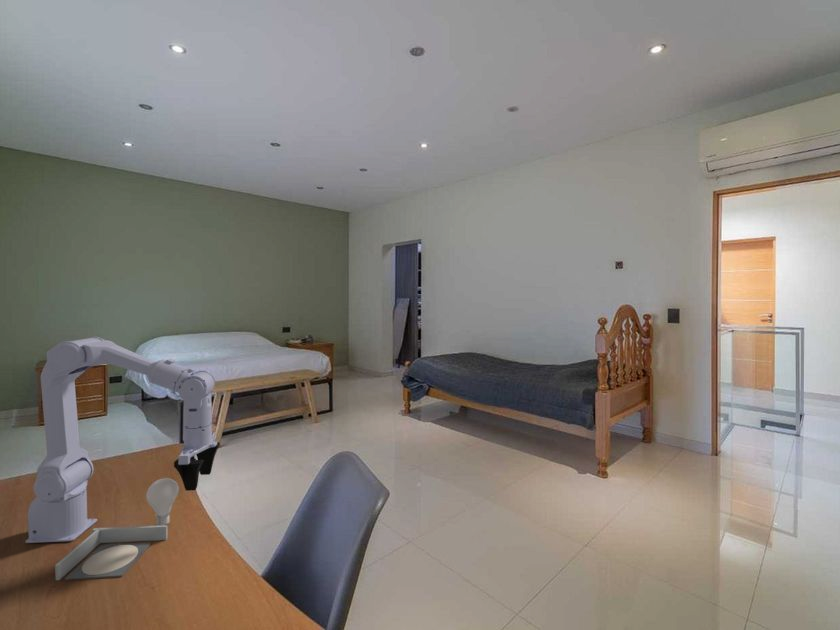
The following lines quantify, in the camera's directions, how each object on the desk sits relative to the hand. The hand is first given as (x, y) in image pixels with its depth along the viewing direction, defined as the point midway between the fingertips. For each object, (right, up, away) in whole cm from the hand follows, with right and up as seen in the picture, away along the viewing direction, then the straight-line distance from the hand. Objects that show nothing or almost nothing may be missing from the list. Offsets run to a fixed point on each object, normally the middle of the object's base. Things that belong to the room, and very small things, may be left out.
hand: (198, 481), depth 93 cm
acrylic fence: (-11, -11, -12) cm, 19 cm away
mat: (-11, -11, -12) cm, 20 cm away
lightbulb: (-8, -10, 0) cm, 13 cm away
